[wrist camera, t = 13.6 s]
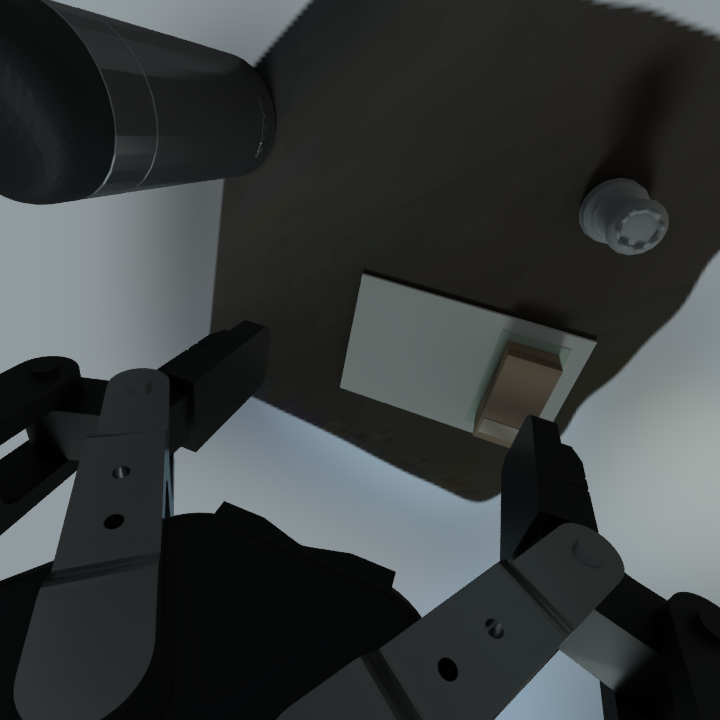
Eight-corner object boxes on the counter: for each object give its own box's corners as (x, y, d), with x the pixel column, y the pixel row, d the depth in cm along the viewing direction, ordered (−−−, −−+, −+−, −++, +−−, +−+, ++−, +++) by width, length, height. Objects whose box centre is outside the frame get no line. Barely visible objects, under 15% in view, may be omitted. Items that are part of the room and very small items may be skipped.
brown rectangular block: (508, 339, 37) (508, 355, 35) (559, 355, 36) (563, 372, 34) (474, 417, 42) (472, 435, 39) (519, 432, 41) (520, 452, 38)
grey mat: (341, 385, 46) (339, 387, 45) (363, 273, 39) (362, 274, 38) (534, 451, 42) (534, 454, 42) (595, 340, 35) (596, 343, 35)
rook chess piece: (655, 177, 29) (699, 189, 22) (637, 242, 31) (672, 270, 25) (584, 177, 30) (607, 188, 24) (572, 239, 32) (588, 266, 26)
